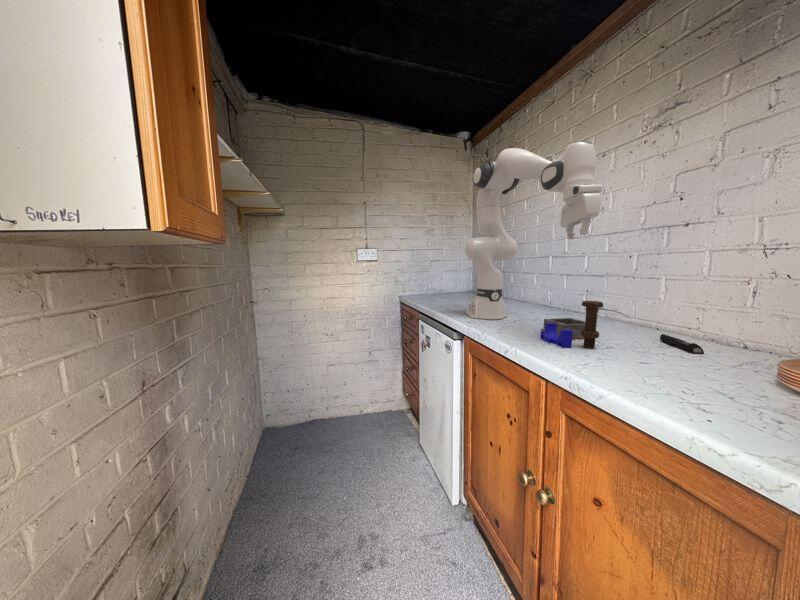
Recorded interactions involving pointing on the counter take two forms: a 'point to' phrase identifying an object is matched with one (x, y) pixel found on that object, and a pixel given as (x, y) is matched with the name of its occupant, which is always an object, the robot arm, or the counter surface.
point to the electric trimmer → (682, 344)
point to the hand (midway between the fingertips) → (577, 237)
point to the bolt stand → (568, 326)
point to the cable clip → (552, 336)
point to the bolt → (590, 323)
